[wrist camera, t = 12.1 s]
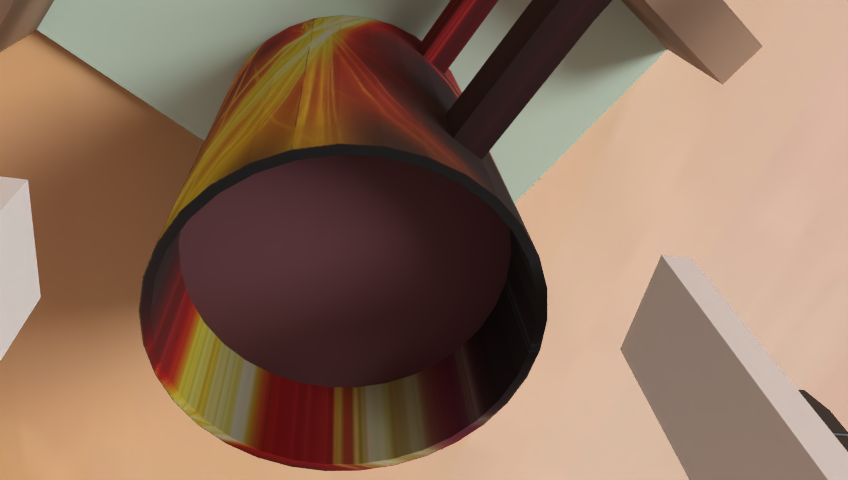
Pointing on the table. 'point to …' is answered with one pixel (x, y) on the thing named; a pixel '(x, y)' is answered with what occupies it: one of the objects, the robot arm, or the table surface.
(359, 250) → the mug
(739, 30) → the walls
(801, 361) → the table surface
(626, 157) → the table surface
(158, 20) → the mat
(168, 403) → the table surface
